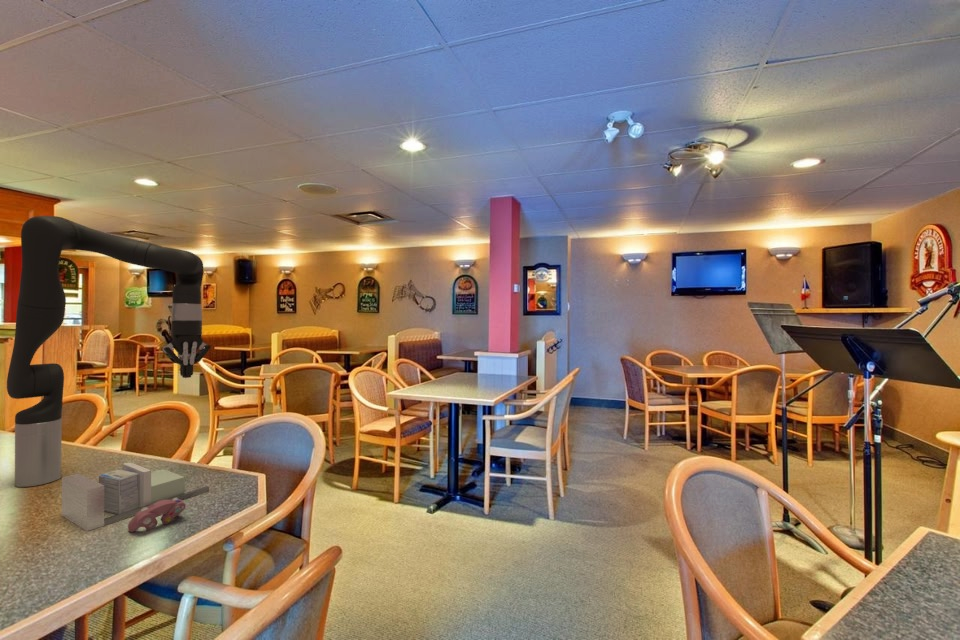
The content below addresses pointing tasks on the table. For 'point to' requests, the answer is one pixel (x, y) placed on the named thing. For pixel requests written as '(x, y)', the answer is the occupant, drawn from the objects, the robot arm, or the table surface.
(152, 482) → the sliding jaw
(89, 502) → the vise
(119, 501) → the medicine box
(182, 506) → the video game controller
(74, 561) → the table surface
